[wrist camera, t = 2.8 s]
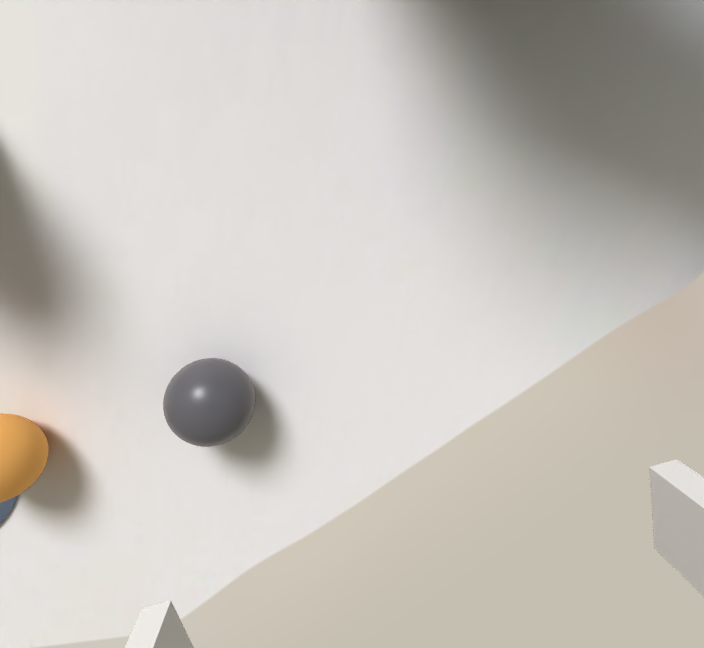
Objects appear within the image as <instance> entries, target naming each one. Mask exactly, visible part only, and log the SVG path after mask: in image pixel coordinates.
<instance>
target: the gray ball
mask: <svg viewBox="0 0 704 648" xmlns="http://www.w3.org/2000/svg"><path fill="white" fill-rule="evenodd" d="M254 407H255V393H254V388H253V385H252V383H251V381H250V379H249V377H248V376H247V375H246V373H245V372H244V371H243V370H242V369H241V368H239V367H238V366H237V365H235V364H233V363H231V362H229V361H226V360H223V359H217V358H208V359H201V360H198V361H195V362H192V363H190V364H188V365H186V366H185V367H183V368H182V369H181V370H180V371H179V372H178V373H176V375H175V376H174V377H173V378H172V380H171V381H170V383H169V384H168V387H167V389H166V392H165V395H164V402H163V409H164V415H165V418H166V421H167V423H168V425H169V427H170V428H171V430H172V431H173V432H174V433H175V434H176V435H177V436H178V437H179V438H181V439H182V440H184V441H186V442H187V443H190V444H193V445H197V446H203V447H210V446H217V445H220V444H223V443H226V442H228V441H230V440H232V439H233V438H235V437H236V436H237V435H239V434H240V433H241V432H242V431H243V430H244V429H245V427H246V426H247V425H248V423H249V421H250V419H251V417H252V415H253V412H254Z"/></svg>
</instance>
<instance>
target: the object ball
mask: <svg viewBox="0 0 704 648" xmlns="http://www.w3.org/2000/svg"><path fill="white" fill-rule="evenodd" d="M48 453H49V448H48V442H47V439H46V436H45V434H44V433H43V431H42V430H41V429H40V428H39V427H38V426H37V425H36V424H35V423H34V422H32V421H30V420H29V419H26V418H24V417H21V416H18V415H13V414H0V503H1V502H4V501H7V500H9V499H11V498H13V497H15V496H17V495H19V494H20V493H22V492H23V491H25V490H26V489H27V488H29V487H30V486H31V485H32V484H33V483H34V482H35V481H36V480H37V479H38V477H39V476H40V474H41V473H42V471H43V470H44V467H45V465H46V462H47V459H48Z"/></svg>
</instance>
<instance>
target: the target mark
mask: <svg viewBox="0 0 704 648" xmlns="http://www.w3.org/2000/svg"><path fill="white" fill-rule="evenodd" d="M17 496H18V495H17ZM17 496H15V497H13V498H11V499H9V500H7V501H4V502H1V503H0V524H1V522H2V521H3V520H4V519H5V518H6V517H7V515H8V514H9V512H10V511H11V509H12V507H13V506H14V503H15V501H16V498H17Z"/></svg>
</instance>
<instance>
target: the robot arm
mask: <svg viewBox="0 0 704 648" xmlns="http://www.w3.org/2000/svg"><path fill="white" fill-rule="evenodd" d="M649 471H650V488H651V503H652V520H653V534H654V535H653V536H654V548H655V550H656V551H658V553H659V554H661V556H662V557H663V558H665V559H666V560H667V561H668V562H669V563H670V564H671V565H672V566H673V567H674V568H675V569H676V570H677V571H678V572H679V573H680V574H681V575H682V576H683V577H684V578H685V579H686V580H687V581H688V582H689V583H690V584H691V585H692V586H693V587H694V588H695V589H696V590H697V591H698V592H699V593H700V594H701V595H702V596H703V597H704V478H703V477H702V476H700V475H699V474H697V473H696V472H694V471H693V470H692V469H690V468H689V467H687V466H685V465H684V464H683V463H681V462H680V461H678V460H673V461H669V462H665V463H662V464H658V465H655V466H651V467H649ZM125 648H194V647H193V645H192V643H191V641H190V639H189V637H188V635H187V633H186V631H185V629H184V627H183V624H182V622H181V620H180V618H179V616H178V614H177V612H176V610H175V608H174V606H173V604H172V602H171V601H167V602H164V603H160V604H156V605H153V606H149V607H146V608H142V610H141V612H140V615H139V617H138V619H137V621H136V624H135V626H134V628H133V630H132V633H131V635H130V637H129V640H128V642H127V644H126V646H125Z"/></svg>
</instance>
